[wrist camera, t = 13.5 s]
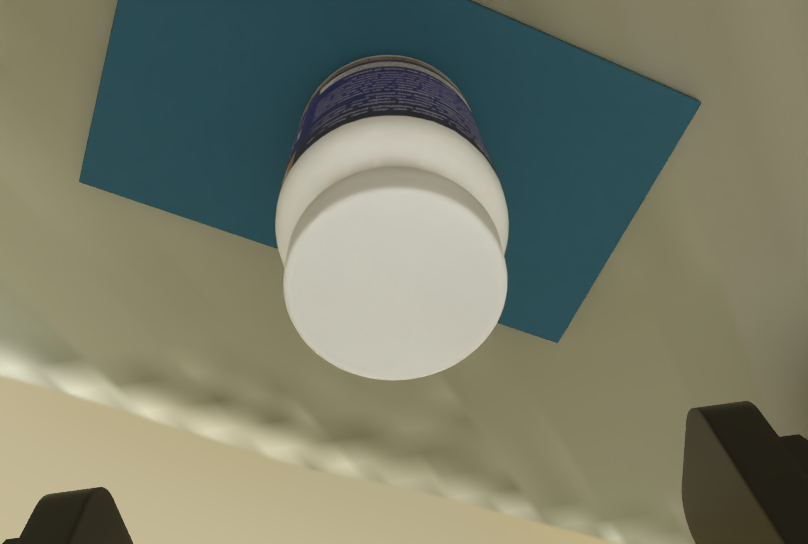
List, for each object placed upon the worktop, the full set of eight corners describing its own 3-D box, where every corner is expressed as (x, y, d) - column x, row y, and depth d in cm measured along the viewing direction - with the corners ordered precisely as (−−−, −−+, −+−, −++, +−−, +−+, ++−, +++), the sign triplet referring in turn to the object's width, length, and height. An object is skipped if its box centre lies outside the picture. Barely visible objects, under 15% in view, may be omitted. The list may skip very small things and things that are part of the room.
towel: (83, 178, 24) (78, 182, 24) (151, -140, 20) (147, -141, 20) (555, 337, 28) (557, 343, 28) (697, 99, 24) (702, 102, 23)
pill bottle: (268, 92, 23) (204, 223, 14) (438, 21, 22) (484, 112, 13) (343, 244, 25) (327, 435, 17) (497, 185, 24) (568, 353, 16)
